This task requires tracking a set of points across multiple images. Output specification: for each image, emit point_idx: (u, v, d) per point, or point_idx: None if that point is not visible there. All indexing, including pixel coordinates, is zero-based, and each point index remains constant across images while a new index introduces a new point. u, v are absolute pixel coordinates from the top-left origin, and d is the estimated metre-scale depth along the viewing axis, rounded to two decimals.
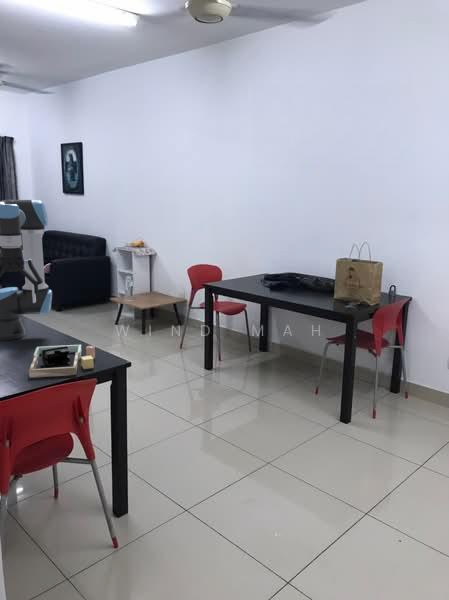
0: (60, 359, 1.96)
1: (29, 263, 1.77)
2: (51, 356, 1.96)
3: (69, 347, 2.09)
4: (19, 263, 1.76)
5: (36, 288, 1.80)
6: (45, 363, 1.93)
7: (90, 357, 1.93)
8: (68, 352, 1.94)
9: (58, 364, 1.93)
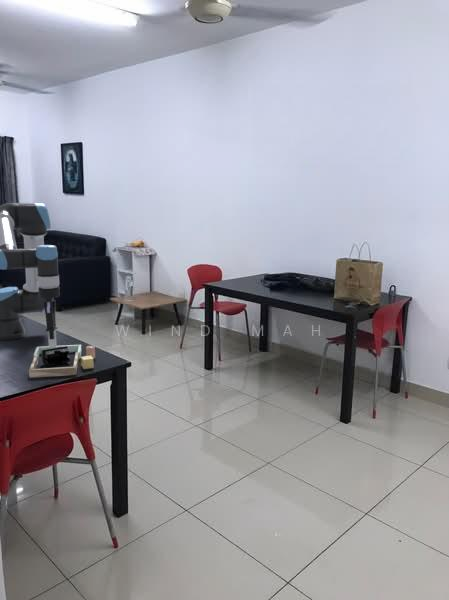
0: (60, 359, 1.96)
1: (45, 310, 1.75)
2: (51, 356, 1.96)
3: (69, 347, 2.09)
4: (46, 304, 1.77)
5: None
6: (45, 363, 1.93)
7: (90, 357, 1.93)
8: (68, 352, 1.94)
9: (58, 364, 1.93)
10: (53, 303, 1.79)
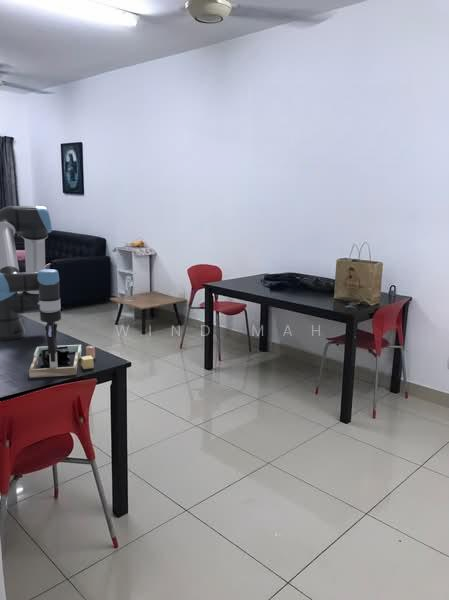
0: (60, 359, 1.96)
1: (46, 334, 1.77)
2: None
3: (69, 347, 2.09)
4: (47, 327, 1.79)
5: (50, 356, 1.83)
6: (45, 363, 1.93)
7: (90, 357, 1.93)
8: (68, 352, 1.94)
9: (58, 364, 1.93)
10: (54, 326, 1.81)
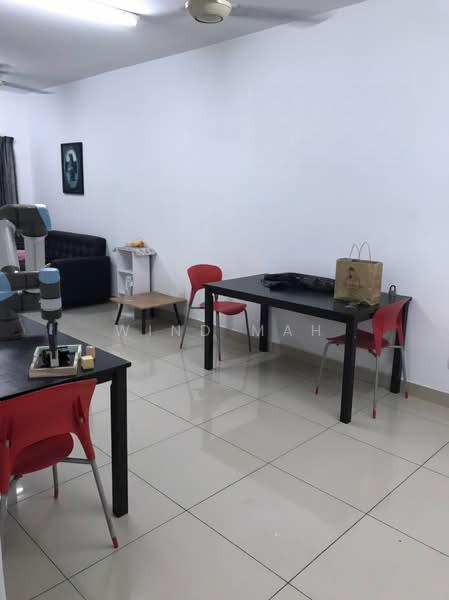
0: (60, 359, 1.96)
1: None
2: None
3: (69, 347, 2.09)
4: (48, 325, 1.82)
5: (51, 354, 1.86)
6: (45, 363, 1.93)
7: (90, 357, 1.93)
8: (68, 352, 1.94)
9: None
10: (55, 324, 1.84)
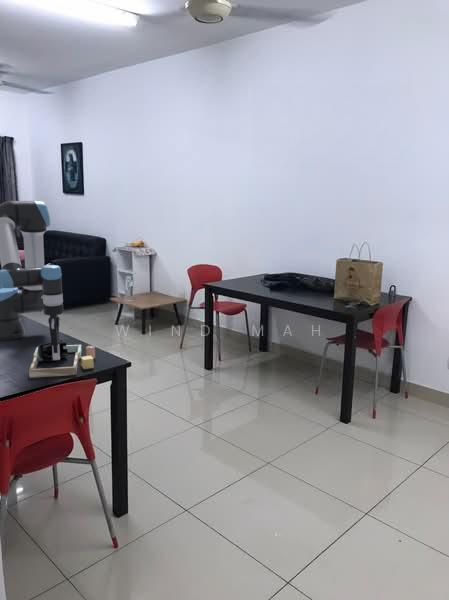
0: None
1: (49, 326, 1.87)
2: (47, 352, 2.01)
3: (69, 347, 2.09)
4: (50, 320, 1.89)
5: (53, 348, 1.93)
6: (44, 358, 1.98)
7: (90, 357, 1.93)
8: (65, 343, 2.01)
9: None
10: (57, 319, 1.91)
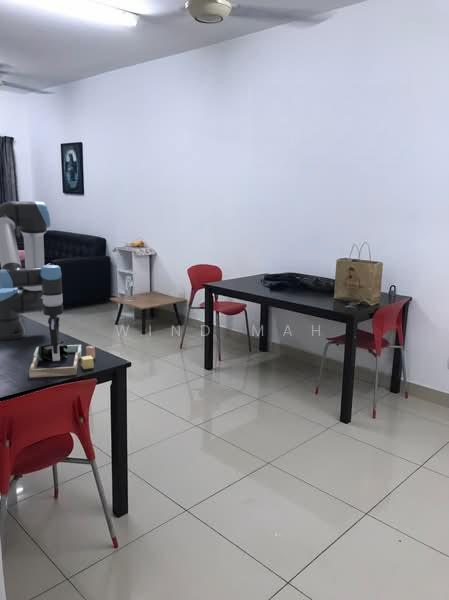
0: None
1: None
2: (47, 351, 2.01)
3: (69, 347, 2.09)
4: (50, 320, 1.88)
5: (53, 349, 1.92)
6: (43, 359, 1.98)
7: (90, 357, 1.93)
8: (66, 346, 2.01)
9: None
10: (57, 320, 1.89)
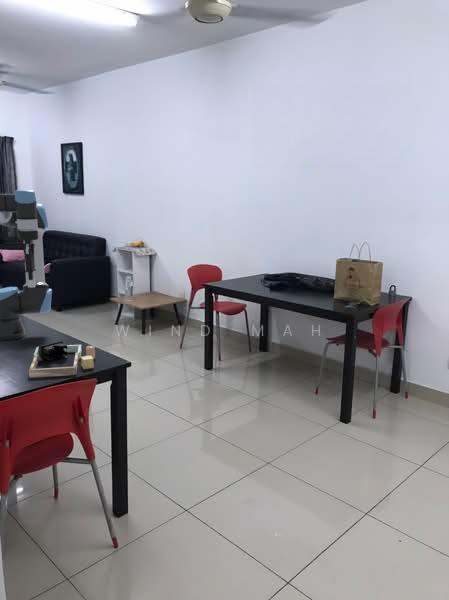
0: (57, 354, 2.02)
1: (24, 251, 1.86)
2: (47, 351, 2.01)
3: (69, 347, 2.09)
4: (24, 245, 1.88)
5: (28, 275, 1.93)
6: (43, 359, 1.98)
7: (90, 357, 1.93)
8: (66, 346, 2.01)
9: (57, 358, 2.00)
10: (32, 245, 1.90)
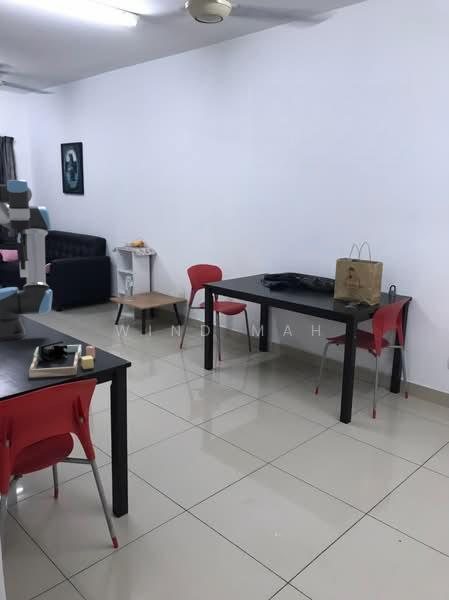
0: (57, 354, 2.02)
1: (16, 240, 1.88)
2: (47, 351, 2.01)
3: (69, 347, 2.09)
4: (17, 235, 1.90)
5: None
6: (43, 359, 1.98)
7: (90, 357, 1.93)
8: (66, 346, 2.01)
9: (57, 358, 2.00)
10: (24, 235, 1.91)
